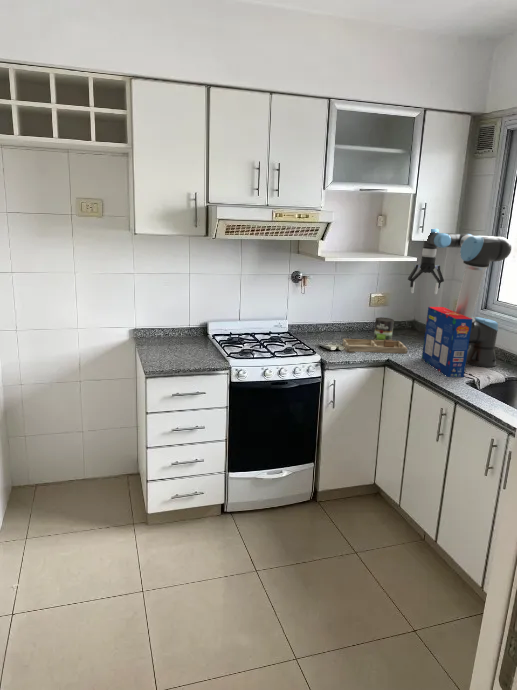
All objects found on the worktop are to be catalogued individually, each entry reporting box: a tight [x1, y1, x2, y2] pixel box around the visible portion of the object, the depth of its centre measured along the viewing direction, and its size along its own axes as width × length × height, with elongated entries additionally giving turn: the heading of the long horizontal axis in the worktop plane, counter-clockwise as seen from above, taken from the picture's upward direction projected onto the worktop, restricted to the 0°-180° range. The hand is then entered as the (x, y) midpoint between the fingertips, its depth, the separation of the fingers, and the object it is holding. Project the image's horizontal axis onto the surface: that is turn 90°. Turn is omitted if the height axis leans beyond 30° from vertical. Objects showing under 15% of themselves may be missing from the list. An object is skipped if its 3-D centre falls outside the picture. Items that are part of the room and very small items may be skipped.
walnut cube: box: [383, 339, 395, 347], centre depth 283 cm, size 4×4×4 cm
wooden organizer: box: [342, 338, 409, 354], centre depth 284 cm, size 16×32×4 cm, turn 90°
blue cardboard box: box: [421, 306, 472, 378], centre depth 252 cm, size 28×8×28 cm, turn 8°
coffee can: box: [373, 317, 395, 340], centre depth 297 cm, size 10×10×14 cm
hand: (424, 293), depth 298 cm, fingers open, 13 cm apart
